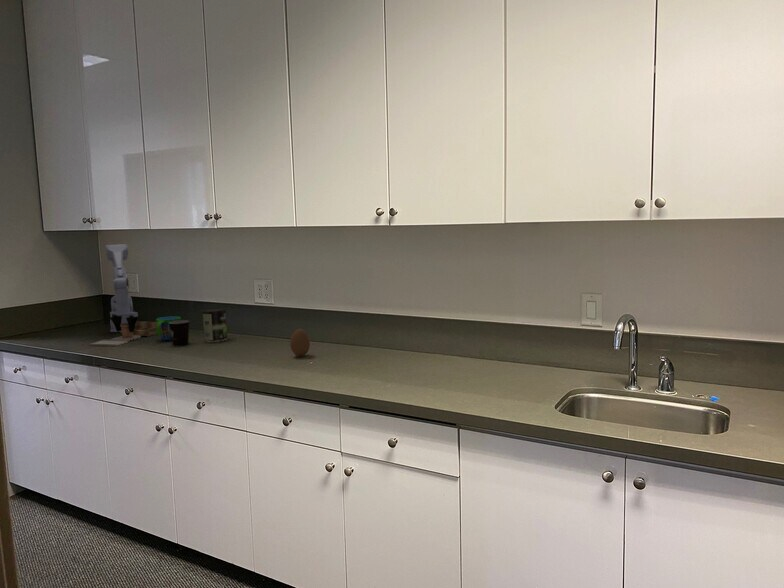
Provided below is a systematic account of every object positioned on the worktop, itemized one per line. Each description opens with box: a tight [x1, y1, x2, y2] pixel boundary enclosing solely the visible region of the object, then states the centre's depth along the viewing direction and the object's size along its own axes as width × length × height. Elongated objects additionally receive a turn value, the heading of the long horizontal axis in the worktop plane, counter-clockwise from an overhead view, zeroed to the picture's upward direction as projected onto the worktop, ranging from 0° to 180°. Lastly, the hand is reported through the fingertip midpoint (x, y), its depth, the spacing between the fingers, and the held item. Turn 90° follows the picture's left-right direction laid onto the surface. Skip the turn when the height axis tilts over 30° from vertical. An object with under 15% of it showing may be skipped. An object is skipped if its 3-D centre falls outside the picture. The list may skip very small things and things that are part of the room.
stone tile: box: [110, 335, 142, 342], centre depth 288 cm, size 9×9×1 cm
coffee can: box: [201, 307, 228, 343], centre depth 279 cm, size 10×10×14 cm
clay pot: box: [120, 323, 133, 338], centre depth 289 cm, size 6×6×6 cm
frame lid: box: [88, 339, 130, 347], centre depth 279 cm, size 14×9×1 cm, turn 75°
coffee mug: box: [169, 319, 190, 346], centre depth 271 cm, size 12×9×10 cm
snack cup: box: [155, 315, 182, 342], centre depth 284 cm, size 16×10×10 cm
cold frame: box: [120, 320, 157, 338], centre depth 300 cm, size 16×11×5 cm
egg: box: [289, 328, 311, 357], centre depth 242 cm, size 8×8×11 cm
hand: (125, 331), depth 288 cm, fingers open, 7 cm apart
